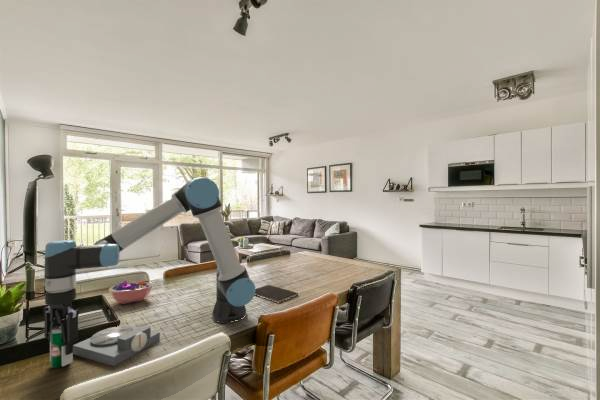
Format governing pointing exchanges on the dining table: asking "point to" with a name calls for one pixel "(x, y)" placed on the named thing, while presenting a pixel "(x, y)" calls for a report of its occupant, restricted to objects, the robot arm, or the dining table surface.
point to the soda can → (56, 347)
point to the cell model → (130, 291)
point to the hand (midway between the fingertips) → (61, 361)
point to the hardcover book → (274, 293)
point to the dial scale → (118, 346)
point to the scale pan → (109, 335)
